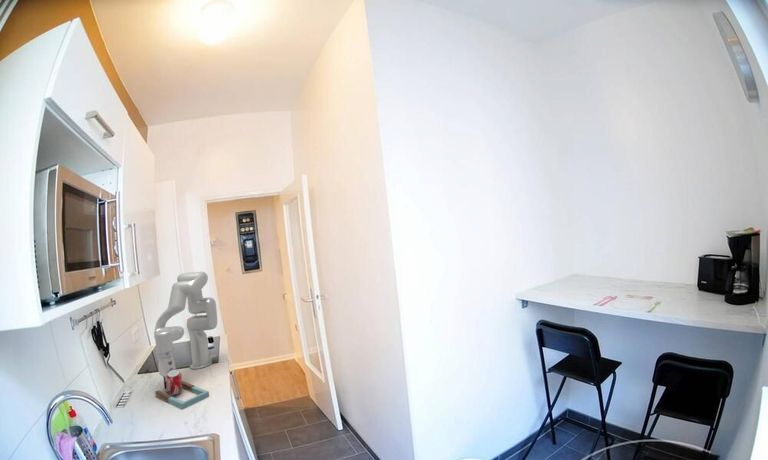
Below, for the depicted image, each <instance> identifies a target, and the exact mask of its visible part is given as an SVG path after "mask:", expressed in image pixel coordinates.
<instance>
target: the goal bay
mask: <svg viewBox="0 0 768 460" xmlns="http://www.w3.org/2000/svg"><path fill="white" fill-rule="evenodd" d="M191 393H193V394H196V395H195V396H193V397H191V398H189V399H186V400H185V401H183V400H181V399H178V398H176V397H174V396H172V397H169V398H168V401H169V403H168V404H170V405H173V406H174V407H176V408H178V409H181V410H184V409H185V408H188V407H190V406H192V405H195V404H197V403H199V402H201V401H202V400H205V399H206V398H208V397H210V393H209V390H207V389H206V390H205V389H203V388H200V387H197V386H194V387H192V392H191Z"/></svg>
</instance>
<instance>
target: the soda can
mask: <svg viewBox="0 0 768 460" xmlns="http://www.w3.org/2000/svg"><path fill="white" fill-rule="evenodd" d="M182 376H183V375H182V372H181V370H180V369H178V368H176V369H173V370H170V371H169V372H168V373H167V376H166V389H165V390H166V394H169V395H171V396H177V395H178V394H180V393H181V392H182V390H183V389H182V381H183V380H182Z"/></svg>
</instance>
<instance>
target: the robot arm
mask: <svg viewBox="0 0 768 460" xmlns="http://www.w3.org/2000/svg"><path fill="white" fill-rule="evenodd" d="M208 279H209V276H208V274H207V273H206V272H204V271H195V272H184V273H181V274H179V275H177V277H176V282H174V283H173V284H172V286H171V291H170V296H169V301H168V307H167V308H166V309H165V311H163V312H162V313H161V314H160V316H159V317H158V319H157V320H156V322H155V328H154V334H153V337H154V340H155V350H156V351H155V352H156V359H157V360H158V363H157V364H158V374H159V375H160V376H162V379H163V387H164V390H166V376H167V373H168V372H169V371H170V370H173V369H177V367H176V361H175V357H174V346H173V343H174V342H175V341H178V340H179V341H180V339H182V338H183V337H184V335H185V328H184V327H182V326H177V325H176V326H166V325H167V323H168V321H169V320H170V319H171V318H172V317H174V316H177V314H179V313H181V312H183V311H184V310H185V308H186V303H187V309H188V312H189V314H192V315H193V316H191V317H189V318H188V319H187V320H186V328H187V331H188V335H189V336H188V337H189V342H190V353H191V359H192V360H191V361H192V364H190V365H189V368H190V369H192V370H200V369H203V368H207V367H209V366H211V364H213V359H215V358H217V357H218V356H217V354H216V353H215V354H210V352H209V341H208V335H207V333H206V332H205V331H211V330H214V329H216V328H217V326H218V314H217V313H218V312H217V311H218V310H217V304H216V300H215V299H214V298H213V297H203V288H205V286H206V285H207V283H208V281H209V280H208ZM197 314H198V315H197ZM200 314H201V315H200ZM209 354H210V355H209Z"/></svg>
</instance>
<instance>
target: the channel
mask: <svg viewBox="0 0 768 460" xmlns="http://www.w3.org/2000/svg"><path fill="white" fill-rule="evenodd" d="M194 386H195V385H194V384H191V383H189V382H186V381H184V380H182V388H183V389H182V390H185V391H188V392H189V393H193V392H192V387H194ZM195 387H196V386H195ZM154 393H155V398H157V399H159V400H161V401H164V402H165V403H168V404H170V403H169V401H168V398H169V397H173V395H169V394H167V392H164V391H161V390H159V389H158V390H156V391H154Z"/></svg>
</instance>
